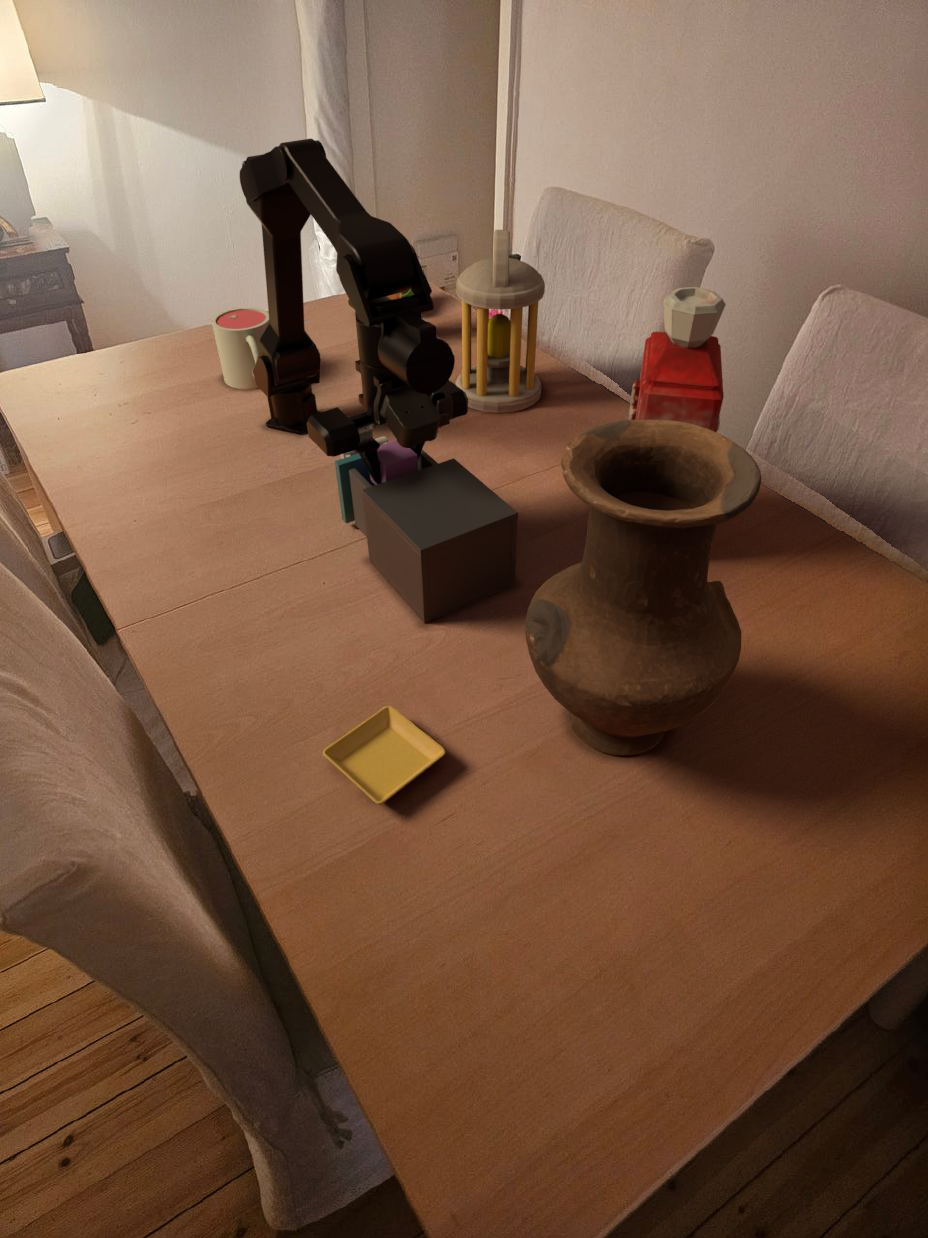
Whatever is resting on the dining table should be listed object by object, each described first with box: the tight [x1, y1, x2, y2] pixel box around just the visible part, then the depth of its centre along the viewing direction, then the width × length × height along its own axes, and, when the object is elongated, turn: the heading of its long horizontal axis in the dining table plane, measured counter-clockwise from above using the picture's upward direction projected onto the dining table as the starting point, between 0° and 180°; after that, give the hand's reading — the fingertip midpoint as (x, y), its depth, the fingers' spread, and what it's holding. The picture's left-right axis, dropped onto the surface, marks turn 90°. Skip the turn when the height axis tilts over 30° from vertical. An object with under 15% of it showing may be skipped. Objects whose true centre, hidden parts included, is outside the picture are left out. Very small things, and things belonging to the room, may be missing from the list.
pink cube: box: [370, 439, 418, 485], centre depth 101 cm, size 4×4×4 cm
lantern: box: [454, 229, 546, 414], centre depth 126 cm, size 14×14×25 cm
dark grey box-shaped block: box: [362, 458, 519, 624], centre depth 97 cm, size 14×13×11 cm
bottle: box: [627, 286, 727, 433], centre depth 97 cm, size 14×10×30 cm
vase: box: [524, 419, 762, 756], centre depth 73 cm, size 19×19×30 cm
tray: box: [334, 435, 439, 538], centre depth 104 cm, size 17×11×9 cm
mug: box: [211, 306, 269, 390], centre depth 134 cm, size 14×9×10 cm
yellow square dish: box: [322, 705, 447, 805], centre depth 78 cm, size 9×9×2 cm
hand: (394, 476), depth 102 cm, fingers closed on pink cube, 4 cm apart
